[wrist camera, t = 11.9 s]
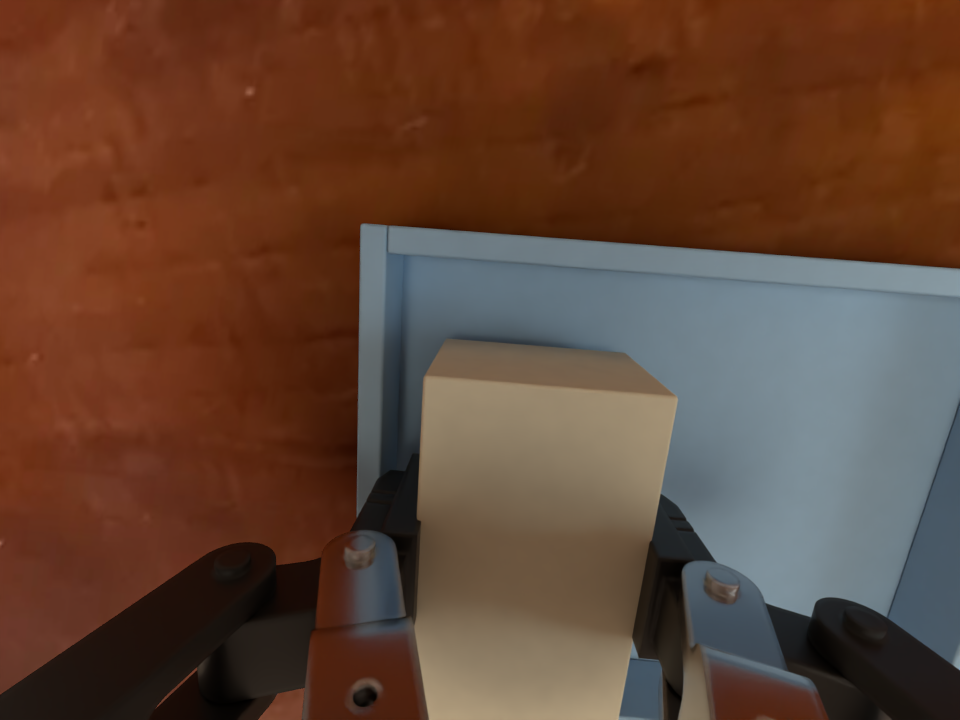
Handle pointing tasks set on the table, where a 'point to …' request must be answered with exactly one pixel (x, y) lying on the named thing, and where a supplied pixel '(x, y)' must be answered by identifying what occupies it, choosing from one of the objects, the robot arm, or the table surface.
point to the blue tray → (718, 399)
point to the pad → (534, 527)
